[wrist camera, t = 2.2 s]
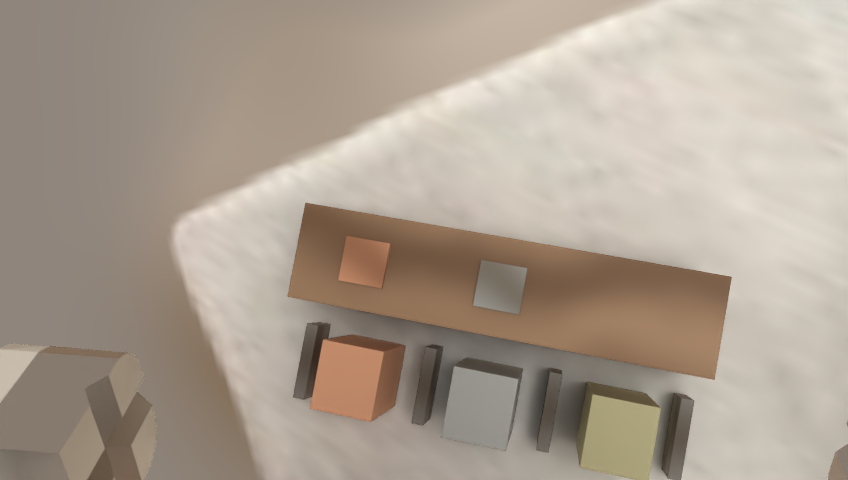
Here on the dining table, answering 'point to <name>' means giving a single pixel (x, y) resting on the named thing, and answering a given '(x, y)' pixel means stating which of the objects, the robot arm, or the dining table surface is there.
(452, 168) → the dining table surface
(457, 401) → the slate key
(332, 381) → the terracotta key
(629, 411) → the olive key
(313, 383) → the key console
